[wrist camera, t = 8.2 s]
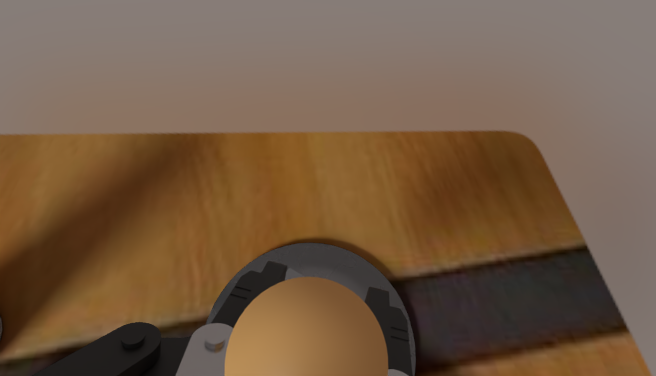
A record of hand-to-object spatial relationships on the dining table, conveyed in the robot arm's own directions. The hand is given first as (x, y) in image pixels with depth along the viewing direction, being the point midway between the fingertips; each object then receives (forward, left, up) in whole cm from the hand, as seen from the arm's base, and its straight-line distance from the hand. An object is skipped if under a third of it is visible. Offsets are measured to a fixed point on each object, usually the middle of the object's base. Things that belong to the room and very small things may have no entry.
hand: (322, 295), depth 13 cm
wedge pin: (+1, -2, -4) cm, 5 cm away
